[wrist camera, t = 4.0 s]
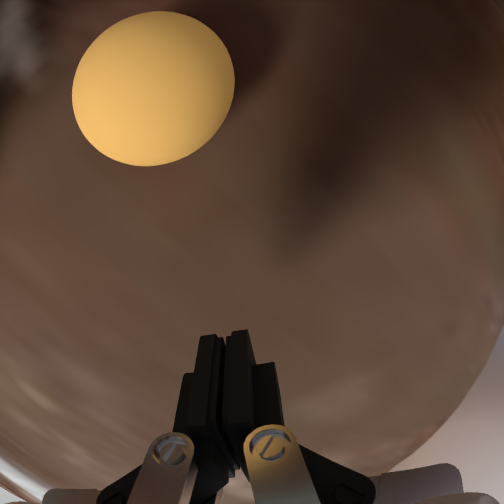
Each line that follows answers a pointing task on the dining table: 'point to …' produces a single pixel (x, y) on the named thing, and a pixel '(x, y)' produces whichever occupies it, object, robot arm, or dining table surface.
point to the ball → (153, 88)
